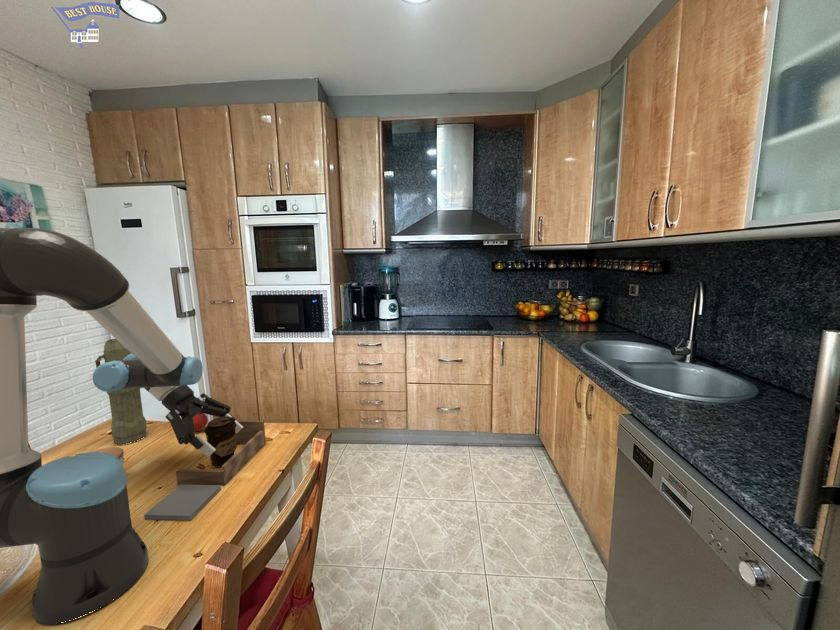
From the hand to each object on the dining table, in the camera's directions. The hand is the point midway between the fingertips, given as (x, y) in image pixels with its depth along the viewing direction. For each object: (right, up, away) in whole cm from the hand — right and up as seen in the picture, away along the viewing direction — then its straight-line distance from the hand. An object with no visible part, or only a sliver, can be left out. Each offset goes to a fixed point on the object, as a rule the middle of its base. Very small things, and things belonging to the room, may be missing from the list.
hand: (227, 441), depth 99 cm
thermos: (-42, -5, +15) cm, 45 cm away
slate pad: (0, -9, -17) cm, 19 cm away
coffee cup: (-1, -7, +1) cm, 7 cm away
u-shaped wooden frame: (-1, -6, +1) cm, 7 cm away
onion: (-22, -4, +20) cm, 30 cm away
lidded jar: (-29, -8, -9) cm, 32 cm away
